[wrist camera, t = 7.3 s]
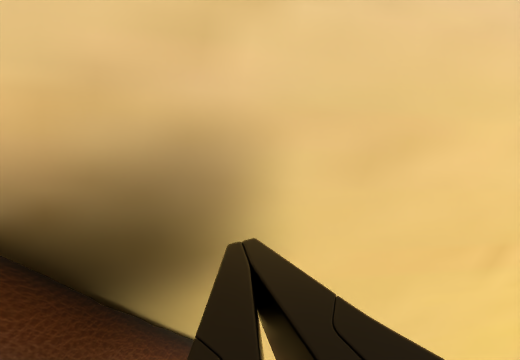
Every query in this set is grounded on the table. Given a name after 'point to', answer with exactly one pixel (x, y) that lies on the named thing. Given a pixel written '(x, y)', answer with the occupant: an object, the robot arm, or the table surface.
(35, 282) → the sunglasses case
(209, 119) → the table surface
